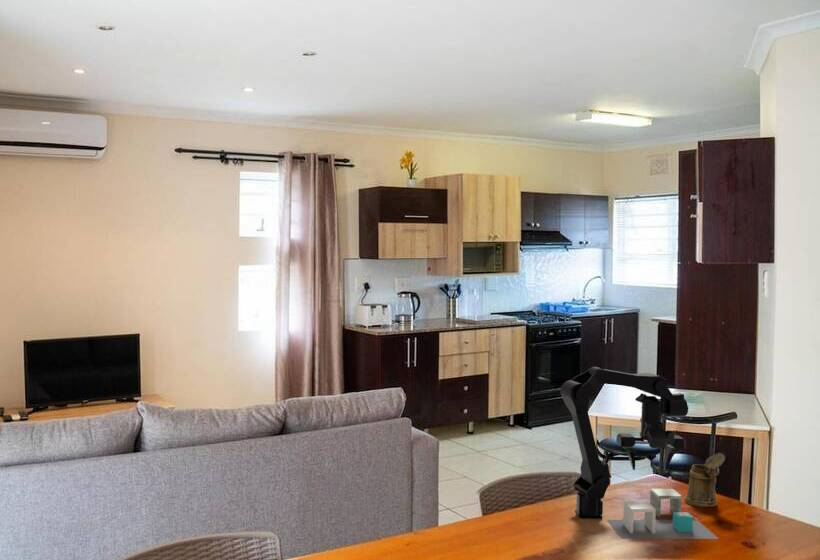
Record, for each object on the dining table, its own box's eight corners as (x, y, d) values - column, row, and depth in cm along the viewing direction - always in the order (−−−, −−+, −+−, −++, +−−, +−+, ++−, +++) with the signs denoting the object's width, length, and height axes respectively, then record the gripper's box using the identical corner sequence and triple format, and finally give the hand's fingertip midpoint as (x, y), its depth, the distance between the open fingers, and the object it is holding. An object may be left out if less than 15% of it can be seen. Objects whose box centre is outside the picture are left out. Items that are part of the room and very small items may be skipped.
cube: (678, 531, 205) (678, 516, 205) (672, 526, 209) (672, 511, 209) (692, 531, 205) (693, 516, 205) (686, 526, 209) (687, 511, 209)
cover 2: (657, 518, 217) (658, 495, 216) (649, 510, 223) (650, 488, 223) (680, 518, 217) (681, 495, 216) (672, 510, 223) (672, 488, 223)
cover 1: (630, 533, 203) (631, 509, 203) (623, 524, 210) (623, 501, 210) (654, 533, 203) (655, 509, 203) (646, 524, 210) (647, 501, 210)
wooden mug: (703, 513, 221) (705, 452, 220) (679, 499, 234) (681, 441, 234) (731, 512, 222) (733, 451, 222) (705, 498, 236) (707, 440, 235)
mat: (621, 539, 199) (621, 538, 199) (606, 520, 213) (606, 519, 213) (718, 540, 200) (718, 538, 200) (697, 521, 214) (697, 520, 214)
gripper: (627, 422, 213) (625, 477, 214) (693, 424, 213) (691, 479, 214) (616, 413, 225) (614, 466, 225) (679, 416, 225) (677, 468, 225)
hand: (649, 470), depth 222 cm, fingers open, 9 cm apart
